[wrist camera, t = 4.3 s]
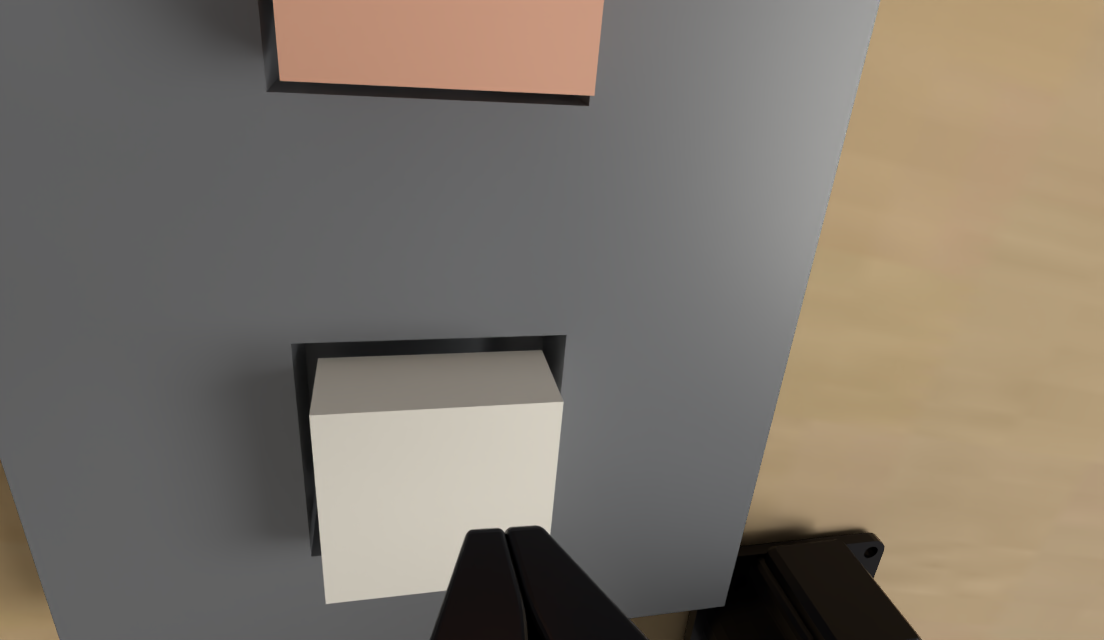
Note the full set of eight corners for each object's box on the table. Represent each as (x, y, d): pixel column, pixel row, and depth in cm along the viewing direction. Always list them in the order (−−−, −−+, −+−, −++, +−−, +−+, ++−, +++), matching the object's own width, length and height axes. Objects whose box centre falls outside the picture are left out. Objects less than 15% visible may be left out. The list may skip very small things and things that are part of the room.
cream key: (528, 515, 17) (545, 579, 15) (331, 533, 16) (326, 604, 14) (542, 349, 15) (563, 401, 13) (317, 358, 14) (309, 415, 12)
